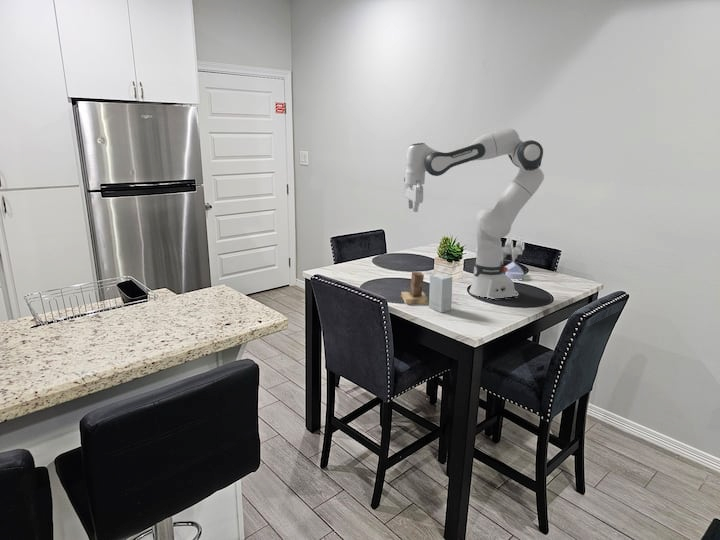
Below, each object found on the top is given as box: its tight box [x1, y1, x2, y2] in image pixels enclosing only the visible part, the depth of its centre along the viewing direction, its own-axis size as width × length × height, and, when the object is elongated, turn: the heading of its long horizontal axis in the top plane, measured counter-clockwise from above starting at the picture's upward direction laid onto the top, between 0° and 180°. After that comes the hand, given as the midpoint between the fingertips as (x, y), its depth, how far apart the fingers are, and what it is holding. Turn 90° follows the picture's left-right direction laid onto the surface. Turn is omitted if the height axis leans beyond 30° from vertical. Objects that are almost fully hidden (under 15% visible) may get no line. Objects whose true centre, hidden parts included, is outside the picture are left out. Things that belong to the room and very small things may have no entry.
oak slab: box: [400, 290, 429, 305], centre depth 214 cm, size 10×10×3 cm
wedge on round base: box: [504, 261, 524, 280], centre depth 253 cm, size 9×7×13 cm
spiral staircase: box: [475, 235, 525, 266], centre depth 274 cm, size 18×18×25 cm
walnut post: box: [409, 271, 425, 297], centre depth 212 cm, size 4×4×10 cm
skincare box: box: [428, 272, 453, 314], centre depth 203 cm, size 8×6×15 cm
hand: (413, 210), depth 223 cm, fingers open, 8 cm apart
